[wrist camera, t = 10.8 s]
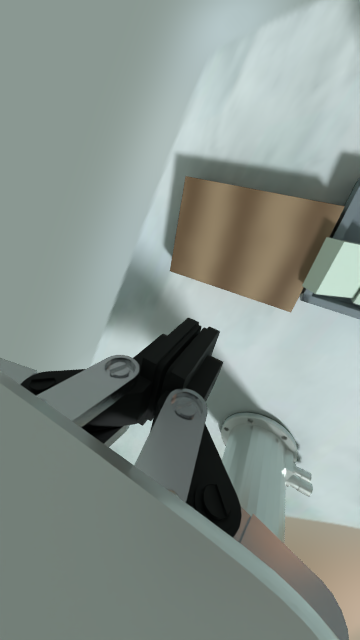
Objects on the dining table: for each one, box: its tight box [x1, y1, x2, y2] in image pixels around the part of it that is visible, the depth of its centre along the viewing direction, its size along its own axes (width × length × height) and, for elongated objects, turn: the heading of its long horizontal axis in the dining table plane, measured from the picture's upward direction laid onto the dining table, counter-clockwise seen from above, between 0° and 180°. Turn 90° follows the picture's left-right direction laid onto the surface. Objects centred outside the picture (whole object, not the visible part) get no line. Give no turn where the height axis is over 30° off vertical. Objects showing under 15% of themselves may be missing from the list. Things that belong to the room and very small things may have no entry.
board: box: [170, 176, 345, 312], centre depth 26 cm, size 16×11×3 cm
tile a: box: [302, 237, 360, 298], centre depth 21 cm, size 5×5×2 cm
